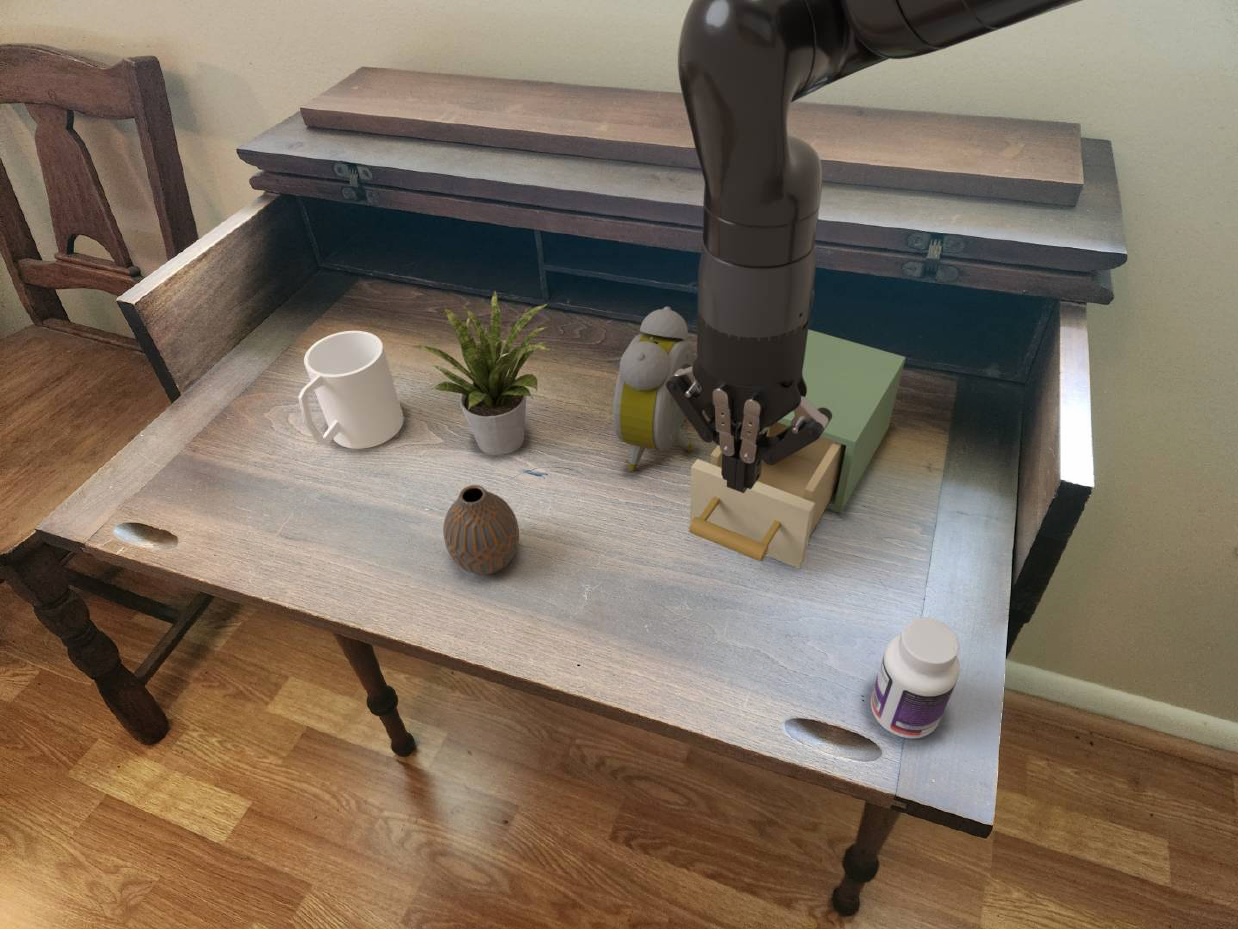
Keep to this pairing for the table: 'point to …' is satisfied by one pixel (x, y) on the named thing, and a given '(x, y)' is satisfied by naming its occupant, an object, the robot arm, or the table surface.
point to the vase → (481, 531)
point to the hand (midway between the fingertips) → (740, 483)
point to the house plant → (492, 380)
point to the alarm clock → (652, 386)
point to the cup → (351, 390)
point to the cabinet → (850, 400)
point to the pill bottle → (916, 678)
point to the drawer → (767, 502)
